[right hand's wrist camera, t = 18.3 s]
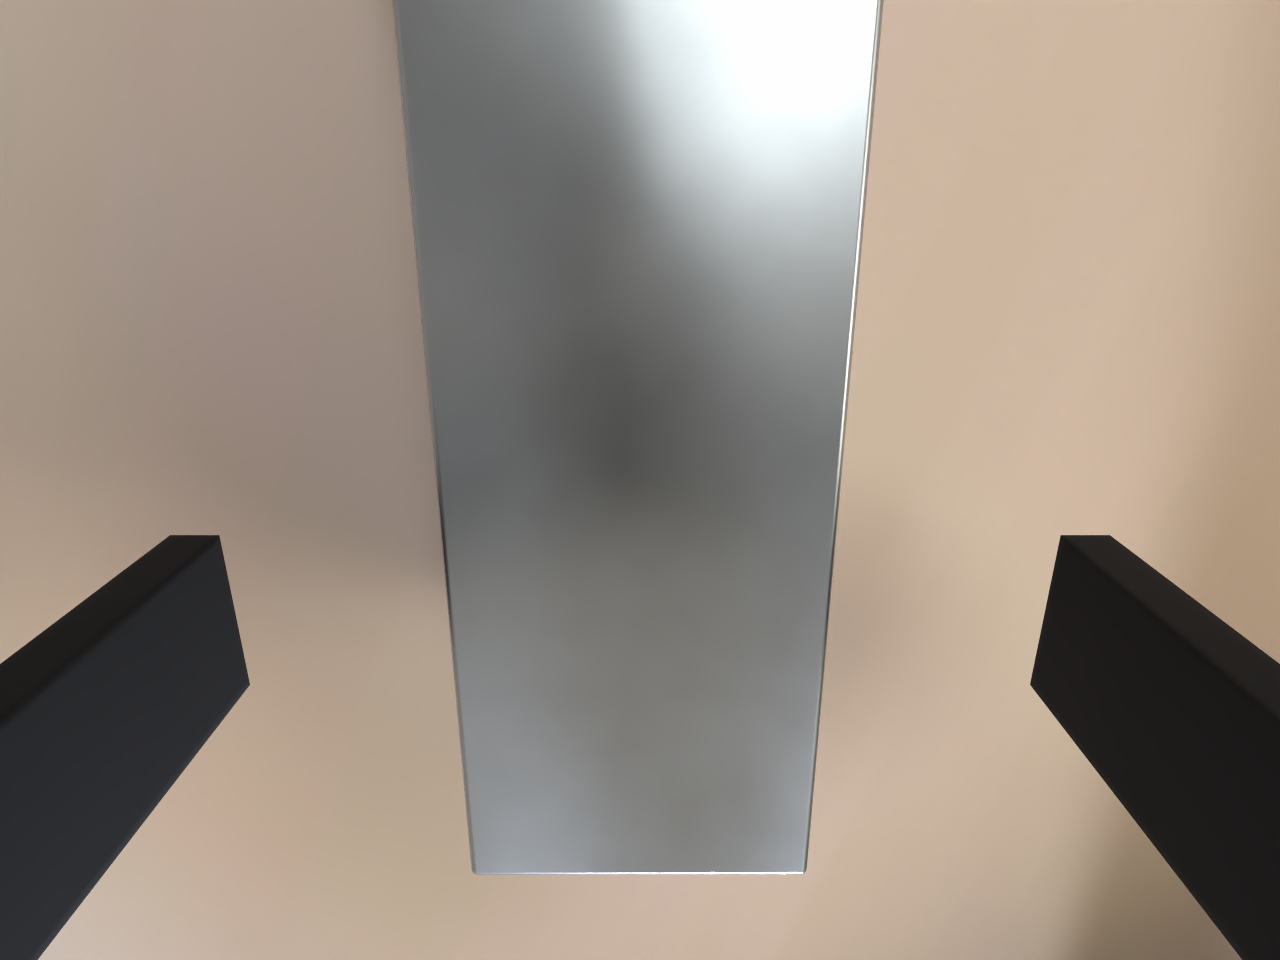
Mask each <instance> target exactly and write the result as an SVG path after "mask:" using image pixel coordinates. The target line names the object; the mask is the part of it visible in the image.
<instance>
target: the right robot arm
mask: <svg viewBox="0 0 1280 960" xmlns="http://www.w3.org/2000/svg"><path fill="white" fill-rule="evenodd" d="M249 685H250V683H249V678H248V673H247V668H246V663H245V659H244V654H243V649H242V644H241V639H240V634H239V629H238V624H237V620H236V615H235V610H234V605H233V600H232V595H231V590H230V585H229V581H228V576H227V571H226V566H225V561H224V556H223V551H222V546H221V542H220V537H219V535H170V536H169V537H167V538H166V539H165V540H163V541H162V542H161V543H159V544H158V545H157V546H155V547H154V548H153V549H151V550H150V551H149V552H148V553H146V554H145V555H144V556H142V557H141V558H140V559H138V560H137V561H136V562H134V563H133V564H132V565H130V566H129V567H128V568H126V569H125V570H124V571H122V572H121V573H120V574H118V575H117V576H116V577H115V578H113V579H112V580H111V581H109V582H108V583H107V584H105V585H104V586H103V587H101V588H100V589H99V590H97V591H96V592H95V593H93V594H92V595H91V596H89V597H88V598H87V599H86V600H84V601H83V602H82V603H80V604H79V605H78V606H76V607H75V608H74V609H72V610H71V611H70V612H68V613H67V614H66V615H64V616H63V617H62V618H60V619H59V620H58V621H57V622H55V623H54V624H53V625H51V626H50V627H49V628H47V629H46V630H45V631H43V632H42V633H41V634H39V635H38V636H37V637H35V638H34V639H33V640H31V641H30V642H29V643H27V644H26V645H25V646H24V647H22V648H21V649H20V650H18V651H17V652H16V653H14V654H13V655H12V656H10V657H9V658H8V659H6V660H5V661H4V662H2V663H1V664H0V960H38V959H39V957H40V956H41V955H42V953H43V952H44V951H45V949H46V948H47V947H48V946H49V944H50V943H51V942H52V940H53V939H54V938H55V937H56V935H57V934H58V933H59V931H60V930H61V929H62V927H63V926H64V925H65V924H66V922H67V921H68V920H69V918H70V917H71V916H72V914H73V913H74V912H75V911H76V909H77V908H78V907H79V905H80V904H81V903H82V902H83V900H84V899H85V898H86V896H87V895H88V894H89V892H90V891H91V890H92V889H93V887H94V886H95V885H96V883H97V882H98V881H99V880H100V878H101V877H102V876H103V874H104V873H105V872H106V870H107V869H108V868H109V867H110V865H111V864H112V863H113V861H114V860H115V859H116V857H117V856H118V855H119V854H120V852H121V851H122V850H123V848H124V847H125V846H126V845H127V843H128V842H129V841H130V839H131V838H132V837H133V835H134V834H135V833H136V832H137V830H138V829H139V828H140V826H141V825H142V824H143V822H144V821H145V820H146V819H147V817H148V816H149V815H150V813H151V812H152V811H153V810H154V808H155V807H156V806H157V804H158V803H159V802H160V800H161V799H162V798H163V797H164V795H165V794H166V793H167V791H168V790H169V789H170V787H171V786H172V785H173V784H174V782H175V781H176V780H177V778H178V777H179V776H180V775H181V773H182V772H183V771H184V769H185V768H186V767H187V765H188V764H189V763H190V762H191V760H192V759H193V758H194V756H195V755H196V754H197V753H198V751H199V750H200V749H201V747H202V746H203V745H204V743H205V742H206V741H207V740H208V738H209V737H210V736H211V734H212V733H213V732H214V730H215V729H216V728H217V727H218V725H219V724H220V723H221V721H222V720H223V719H224V718H225V716H226V715H227V714H228V712H229V711H230V710H231V708H232V707H233V706H234V705H235V703H236V702H237V701H238V699H239V698H240V697H241V695H242V694H243V693H244V692H245V690H246V689H247V688H248V686H249ZM1030 685H1031V686H1032V688H1033V689H1034V690H1035V692H1036V693H1037V694H1038V695H1039V697H1040V698H1041V699H1042V701H1043V702H1044V703H1045V705H1046V706H1047V707H1048V708H1049V710H1050V711H1051V712H1052V714H1053V715H1054V716H1055V718H1056V719H1057V720H1058V721H1059V723H1060V724H1061V725H1062V727H1063V728H1064V729H1065V730H1066V732H1067V733H1068V734H1069V736H1070V737H1071V738H1072V740H1073V741H1074V742H1075V743H1076V745H1077V746H1078V747H1079V749H1080V750H1081V751H1082V753H1083V754H1084V755H1085V756H1086V758H1087V759H1088V760H1089V762H1090V763H1091V764H1092V765H1093V767H1094V768H1095V769H1096V771H1097V772H1098V773H1099V775H1100V776H1101V777H1102V778H1103V780H1104V781H1105V782H1106V784H1107V785H1108V786H1109V787H1110V789H1111V790H1112V791H1113V793H1114V794H1115V795H1116V797H1117V798H1118V799H1119V800H1120V802H1121V803H1122V804H1123V806H1124V807H1125V808H1126V810H1127V811H1128V812H1129V813H1130V815H1131V816H1132V817H1133V819H1134V820H1135V821H1136V822H1137V824H1138V825H1139V826H1140V828H1141V829H1142V830H1143V832H1144V833H1145V834H1146V835H1147V837H1148V838H1149V839H1150V841H1151V842H1152V843H1153V845H1154V846H1155V847H1156V848H1157V850H1158V851H1159V852H1160V854H1161V855H1162V856H1163V857H1164V859H1165V860H1166V861H1167V863H1168V864H1169V865H1170V867H1171V868H1172V869H1173V870H1174V872H1175V873H1176V874H1177V876H1178V877H1179V878H1180V880H1181V881H1182V882H1183V883H1184V885H1185V886H1186V887H1187V889H1188V890H1189V891H1190V892H1191V894H1192V895H1193V896H1194V898H1195V899H1196V900H1197V902H1198V903H1199V904H1200V905H1201V907H1202V908H1203V909H1204V911H1205V912H1206V913H1207V914H1208V916H1209V917H1210V918H1211V920H1212V921H1213V922H1214V924H1215V925H1216V926H1217V927H1218V929H1219V930H1220V931H1221V933H1222V934H1223V935H1224V937H1225V938H1226V939H1227V940H1228V942H1229V943H1230V944H1231V946H1232V947H1233V948H1234V949H1235V951H1236V952H1237V953H1238V955H1239V956H1240V957H1241V959H1242V960H1280V664H1279V663H1278V662H1276V661H1275V660H1274V659H1272V658H1271V657H1270V656H1268V655H1267V654H1266V653H1264V652H1263V651H1262V650H1260V649H1259V648H1258V647H1256V646H1255V645H1254V644H1253V643H1251V642H1250V641H1249V640H1247V639H1246V638H1245V637H1243V636H1242V635H1241V634H1239V633H1238V632H1237V631H1235V630H1234V629H1233V628H1231V627H1230V626H1229V625H1227V624H1226V623H1225V622H1223V621H1222V620H1221V619H1220V618H1218V617H1217V616H1216V615H1214V614H1213V613H1212V612H1210V611H1209V610H1208V609H1206V608H1205V607H1204V606H1202V605H1201V604H1200V603H1198V602H1197V601H1196V600H1194V599H1193V598H1192V597H1191V596H1189V595H1188V594H1187V593H1185V592H1184V591H1183V590H1181V589H1180V588H1179V587H1177V586H1176V585H1175V584H1173V583H1172V582H1171V581H1169V580H1168V579H1167V578H1165V577H1164V576H1163V575H1162V574H1160V573H1159V572H1158V571H1156V570H1155V569H1154V568H1152V567H1151V566H1150V565H1148V564H1147V563H1146V562H1144V561H1143V560H1142V559H1140V558H1139V557H1138V556H1136V555H1135V554H1134V553H1132V552H1131V551H1130V550H1129V549H1127V548H1126V547H1125V546H1123V545H1122V544H1121V543H1119V542H1118V541H1117V540H1115V539H1114V538H1113V537H1111V536H1110V535H1061V537H1060V542H1059V546H1058V551H1057V556H1056V561H1055V566H1054V571H1053V576H1052V581H1051V585H1050V590H1049V595H1048V600H1047V605H1046V610H1045V615H1044V620H1043V624H1042V629H1041V634H1040V639H1039V644H1038V649H1037V654H1036V659H1035V663H1034V668H1033V673H1032V678H1031V683H1030Z"/></svg>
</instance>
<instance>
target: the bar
mask: <svg viewBox="0 0 1280 960" xmlns="http://www.w3.org/2000/svg"><path fill="white" fill-rule="evenodd" d="M883 1H884V0H392V2H393V13H394V24H395V35H396V46H397V57H398V68H399V78H400V89H401V100H402V111H403V122H404V133H405V144H406V155H407V166H408V177H409V188H410V199H411V210H412V221H413V232H414V243H415V254H416V265H417V276H418V287H419V297H420V308H421V319H422V330H423V341H424V352H425V363H426V374H427V385H428V396H429V407H430V418H431V429H432V440H433V451H434V462H435V473H436V484H437V495H438V506H439V516H440V527H441V538H442V549H443V560H444V571H445V582H446V593H447V604H448V615H449V626H450V637H451V648H452V659H453V670H454V681H455V692H456V703H457V714H458V725H459V735H460V746H461V757H462V768H463V779H464V790H465V801H466V812H467V823H468V834H469V845H470V856H471V867H472V871H473V873H474V874H477V875H543V874H802V873H805V871H806V868H807V859H808V848H809V836H810V825H811V814H812V802H813V791H814V780H815V769H816V757H817V746H818V735H819V723H820V712H821V701H822V690H823V678H824V667H825V656H826V644H827V633H828V622H829V611H830V599H831V588H832V577H833V565H834V554H835V543H836V531H837V520H838V509H839V498H840V486H841V475H842V464H843V452H844V441H845V430H846V419H847V407H848V396H849V385H850V373H851V362H852V351H853V340H854V328H855V317H856V306H857V294H858V283H859V272H860V261H861V249H862V238H863V227H864V215H865V204H866V193H867V181H868V170H869V159H870V148H871V136H872V125H873V114H874V102H875V91H876V80H877V69H878V57H879V46H880V35H881V23H882V12H883Z"/></svg>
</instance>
